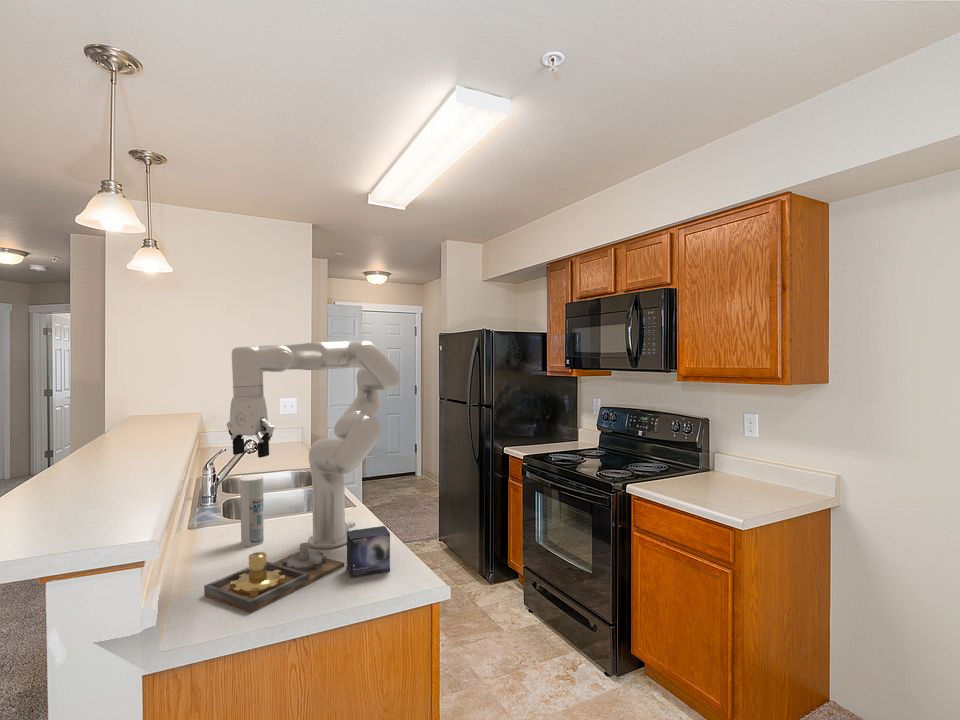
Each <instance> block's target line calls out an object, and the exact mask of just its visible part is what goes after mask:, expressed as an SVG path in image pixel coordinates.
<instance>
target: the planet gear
mask: <svg viewBox="0 0 960 720" xmlns="http://www.w3.org/2000/svg"><path fill="white" fill-rule="evenodd" d="M267 558H268V557H267V553H266V552H263V551H260V552H254V553H251V554H249V555H248V567H249V574H246V573H244V574H242V575H239V579H238V580H237V581H231V583H230V590H233V593H235V594H238V595H250V598H251V597H257V596H259V594H262V593H265V592H268V591H270V590H272V589H274V588H276V587H278V585H281V584H284V583H285V575H281V571H280V570H275V571H267V561H268V560H267Z"/></svg>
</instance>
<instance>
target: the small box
mask: <svg viewBox="0 0 960 720" xmlns="http://www.w3.org/2000/svg"><path fill="white" fill-rule="evenodd" d="M346 570H347V572H348V575H349V577H350V579H351V578H358V577H362V576H363V577H365V576H369V575H375V574H380V573H381V574H382V573H387V572H390V571H391V533H390V531H389V530H388V528H387V527H386V526H385V525H380V526H374V527H368V528H365V527H364V528H359V529H352V530H348V531H347V543H346Z"/></svg>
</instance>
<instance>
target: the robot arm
mask: <svg viewBox="0 0 960 720" xmlns="http://www.w3.org/2000/svg"><path fill="white" fill-rule="evenodd" d="M231 366H232V367H231V368H232V369H231V370H232V371H231V372H232V374H231V375H232V393H233V396H232V398H231V400H230V408H229V409H230V410H229V421H228V422H227V423H226V427H227V429H228V434H229V435H230V440H231V441H232V454H233V456H234V455H236V456H237V455H240V454H241V455H242V454H244V453H245V438H243V437H244V436H249V437H250V436H251V437H252V436H255V437H256V439H257V441H258V442H257V443H256V444H257V458H260V459H261V458H264V457H268V456H269V455H270V441H271V438H272V437H273V432H274V430H275V425H274V424H272V423H271V422H270V421H269V418H268V410H267V403H266V398H265V396H264V395H265V394H264V373H265V372H269V373H282V372H285V371H287V370H289V371H291V370H299V371H300V370H302V371H322V370H323V371H326V370H337V369H351V368H354V369H355V368H357V369H358V370H357V373H356V377H355V378H356V384H357V385H356V386H357V394H356V397H355V399H354V400H353V402H352V403H351V404H350V405H349V406H348V408H347V409H346V410H345V411H344V413H343V414H342V415H341V416H340V418H339V419H338V420H337V421H336V423H335V425H334V427H333V428H334V429H333V430H334V431H333V433H334V436H335V438H337V439H335V438H327V437H326V438H325V437H323V438H320V439H318V440H315V442H314V443H313V444H312V445H311V446H310V448H309V451H308V463H309V466H310V467H309V468H310V473H311V482H312V483H311V484H312V485H311V486H312V487H311V488H312V493H311V495H312V535H311V536H309V537H308V539H307V543H309V547H311V548H314V549H332V548H338V547H342V546H344V545H347V531H350V529H353V528H355V527H356V522H355V521H354V520H351V521H349V522H348V523H347V522H346V517H345V516H346V510H345V509H346V508H345V506H346V504H345V502H346V501H345V499H346V498H345V497H346V496H345V489H346V488H345V484H346V483H345V478H344V475H348V474H351V473H353V472H354V471H355V470H356V469H358V467H359V466H360V465H361V464H362V462H363V461H364V460H365V458H366V457H367V456H368V455H369V453H370V452H371V451H372V449H373V448H374V447H375V445H376V443H377V442H378V440H379V438H380V435H381V431H382V430H381V423H380V422H379V420H378V418H377V417H376V416H377V414H378V413H379V411H380V408H381V396H380V395H381V394H380V391H391V390H394V389H395V388H396V387H398V385H399V383H400V382H401V373H400V371H399V368H398V367H397V366H396V365H395V364H394V363H393V361H392V360H391V359H390V358H389V357H388V356H387V355H386V354H385V353H384V352H383V351H382V350H381V349H380V348H379V347H378V346H377V345H375V344H374V343H373V342H371V341H369V340H346V341H344V340H342V341H316V342H313V341H311V342H305V343H304V342H303V343H297V344H296V343H295V344H280V345H279V344H278V345H277V344H275V345H274V344H273V345H272V344H267V345H259V346H237V347H234V348H233V349H232V351H231Z"/></svg>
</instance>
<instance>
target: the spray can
mask: <svg viewBox="0 0 960 720" xmlns="http://www.w3.org/2000/svg"><path fill="white" fill-rule="evenodd" d="M239 487H240V488H239V490H240V491H239V493H240V495H239V496H240V497H239V498H240V532H241V533H240V535H241V537H240V538H241V540H240V541H241V546H242V547H256V546H260V545H261V544H263V543H264V538H265V535H264V534H265V533H264V530H265V529H264V528H265V527H264V526H265V525H264V521H265V519H264V476H263V475H247V476H243V477H241V478H240V479H239Z"/></svg>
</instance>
